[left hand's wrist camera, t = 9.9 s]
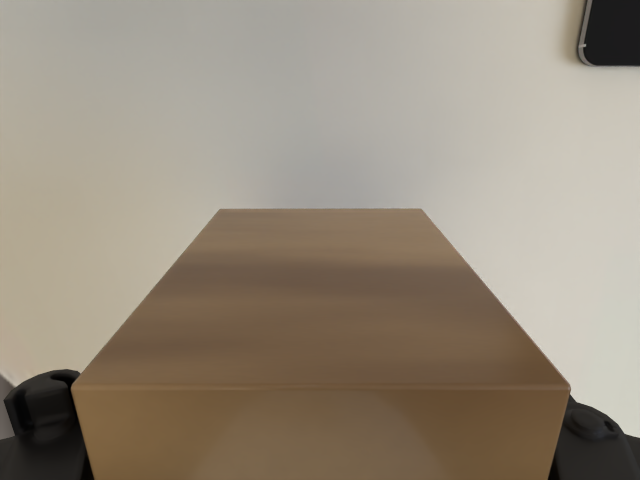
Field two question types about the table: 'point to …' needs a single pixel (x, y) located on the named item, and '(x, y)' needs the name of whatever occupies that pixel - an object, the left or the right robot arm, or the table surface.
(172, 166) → the table surface
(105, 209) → the table surface
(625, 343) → the table surface
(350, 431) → the box
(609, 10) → the smartphone
